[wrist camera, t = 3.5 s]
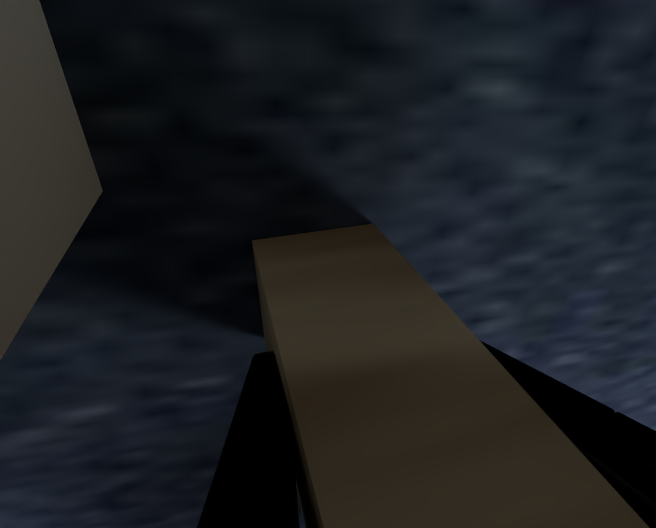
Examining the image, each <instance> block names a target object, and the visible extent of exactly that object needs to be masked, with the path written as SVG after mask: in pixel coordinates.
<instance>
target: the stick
mask: <svg viewBox="0 0 656 528" xmlns="http://www.w3.org/2000/svg"><path fill="white" fill-rule="evenodd" d="M252 246H253V253H254V261H255V269H256V276H257V284H258V291H259V299H260V307H261V314H262V322H263V329H264V337H265V342H266V347H267V351H274V353H275V357H276V361H277V364H278V368H279V372H280V376H281V380H282V384H283V387H284V391H285V395H286V399H287V403H288V408H289V416H290V426H291V436H292V446H293V456H294V466H295V476H296V488H297V493H298V497H299V502H300V507H301V511H302V516H303V521H304V525H305V528H649V527H648V525H647V524H646V523H645V522H644V521H643V520H642V519H641V518H640V517H639V516H638V514H637V513H636V512H635V511H634V510H633V509H632V508H631V507H630V506H629V505H628V503H627V502H626V501H625V500H624V499H623V498H622V497H621V496H620V495H619V494H618V492H617V491H616V490H615V489H614V488H613V487H612V486H611V485H610V484H609V483H608V481H607V480H606V479H605V478H604V477H603V476H602V475H601V474H600V473H599V472H598V470H597V469H596V468H595V467H594V466H593V465H592V464H591V463H590V462H589V461H588V459H587V458H586V457H585V456H584V455H583V454H582V453H581V452H580V451H579V450H578V448H577V447H576V446H575V445H574V444H573V443H572V442H571V441H570V440H569V439H568V437H567V436H566V435H565V434H564V433H563V432H562V431H561V430H560V429H559V428H558V426H557V425H556V424H555V423H554V422H553V421H552V420H551V419H550V418H549V417H548V415H547V414H546V413H545V412H544V411H543V410H542V409H541V408H540V407H539V406H538V404H537V403H536V402H535V401H534V400H533V399H532V398H531V397H530V396H529V395H528V393H527V392H526V391H525V390H524V389H523V388H522V387H521V386H520V385H519V384H518V382H517V381H516V380H515V379H514V378H513V377H512V376H511V375H510V374H509V373H508V371H507V370H506V369H505V368H504V367H503V366H502V365H501V364H500V363H499V361H498V360H497V359H496V358H495V357H494V356H493V355H492V354H491V353H490V352H489V350H488V349H487V348H486V347H485V346H484V345H483V344H482V343H481V342H480V341H479V339H478V338H477V337H476V336H475V335H474V334H473V333H472V332H471V331H470V330H469V328H468V327H467V326H466V325H465V324H464V323H463V322H462V321H461V320H460V319H459V317H458V316H457V315H456V314H455V313H454V312H453V311H452V310H451V309H450V308H449V306H448V305H447V304H446V303H445V302H444V301H443V300H442V299H441V298H440V297H439V295H438V294H437V293H436V292H435V291H434V290H433V289H432V288H431V287H430V286H429V284H428V283H427V282H426V281H425V280H424V279H423V278H422V277H421V276H420V275H419V273H418V272H417V271H416V270H415V269H414V268H413V267H412V266H411V265H410V264H409V262H408V261H407V260H406V259H405V258H404V257H403V256H402V255H401V254H400V253H399V251H398V250H397V249H396V248H395V247H394V246H393V245H392V244H391V243H390V242H389V240H388V239H387V238H386V237H385V236H384V235H383V234H382V233H381V232H380V231H379V229H378V228H377V227H376V226H375V225H374V224H366V225H359V226H352V227H345V228H337V229H330V230H323V231H316V232H309V233H302V234H294V235H287V236H280V237H273V238H266V239H258V240H252Z"/></svg>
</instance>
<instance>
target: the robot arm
mask: <svg viewBox="0 0 656 528" xmlns="http://www.w3.org/2000/svg"><path fill="white" fill-rule="evenodd" d="M479 341H480V340H479ZM480 342H481V343H482V344H483V345H484V346H485V347H486V348H487V349H488V350H489V352H490V353H491V354H492V355H493V356H494V357H495V358H496V359H497V360H498V361H499V363H500V364H501V365H502V366H503V367H504V368H505V369H506V370H507V371H508V373H509V374H510V375H511V376H512V377H513V378H514V379H515V380H516V381H517V382H518V384H519V385H520V386H521V387H522V388H523V389H524V390H525V391H526V392H527V393H528V395H529V396H530V397H531V398H532V399H533V400H534V401H535V402H536V403H537V404H538V406H539V407H540V408H541V409H542V410H543V411H544V412H545V413H546V414H547V415H548V417H549V418H550V419H551V420H552V421H553V422H554V423H555V424H556V425H557V426H558V428H559V429H560V430H561V431H562V432H563V433H564V434H565V435H566V436H567V437H568V439H569V440H570V441H571V442H572V443H573V444H574V445H575V446H576V447H577V448H578V450H579V451H580V452H581V453H582V454H583V455H584V456H585V457H586V458H587V459H588V461H589V462H590V463H591V464H592V465H593V466H594V467H595V468H596V469H597V470H598V472H599V473H600V474H601V475H602V476H603V477H604V478H605V479H606V480H607V481H608V483H609V484H610V485H611V486H612V487H613V488H614V489H615V490H616V491H617V492H618V494H619V495H620V496H621V497H622V498H623V499H624V500H625V501H626V502H627V503H628V505H629V506H630V507H631V508H632V509H633V510H634V511H635V512H636V513H637V514H638V516H639V517H640V518H641V519H642V520H643V521H644V522H645V523H646V524H647V525H648V527H649V528H656V431H655V430H653V429H651V428H649V427H647V426H645V425H643V424H641V423H639V422H637V421H635V420H633V419H631V418H629V417H627V416H625V415H623V414H621V413H619V412H616V413H615V411H614V410H613V409H611V408H610V407H608V406H606V405H604V404H602V403H600V402H598V401H596V400H594V399H592V398H590V397H588V396H586V395H584V394H582V393H581V392H579V391H577V390H575V389H573V388H571V387H569V386H567V385H565V384H563V383H561V382H559V381H557V380H555V379H554V378H552V377H550V376H548V375H546V374H544V373H542V372H540V371H538V370H536V369H534V368H532V367H530V366H528V365H526V364H525V363H523V362H521V361H519V360H517V359H515V358H513V357H511V356H509V355H507V354H505V353H503V352H501V351H499V350H497V349H496V348H494V347H492V346H490V345H488V344H486V343H484V342H482V341H480ZM197 528H300V527H299V514H298V501H297V488H296V476H295V466H294V456H293V446H292V436H291V426H290V416H289V408H288V403H287V399H286V395H285V391H284V387H283V384H282V380H281V376H280V372H279V368H278V364H277V361H276V357H275V353H274V351H268V352H263V353H258V354H255V355H254V356H253V358H252V361H251V364H250V367H249V370H248V373H247V376H246V380H245V383H244V386H243V389H242V392H241V395H240V398H239V401H238V404H237V407H236V410H235V413H234V416H233V419H232V422H231V425H230V428H229V431H228V434H227V437H226V441H225V444H224V447H223V450H222V453H221V456H220V459H219V462H218V465H217V468H216V471H215V474H214V477H213V480H212V483H211V486H210V489H209V492H208V495H207V498H206V502H205V505H204V508H203V511H202V514H201V517H200V520H199V523H198V526H197Z"/></svg>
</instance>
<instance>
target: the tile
mask: <svg viewBox="0 0 656 528" xmlns="http://www.w3.org/2000/svg"><path fill="white" fill-rule="evenodd" d="M102 192H103V190H102V187H101V184H100V181H99V178H98V175H97V172H96V169H95V166H94V163H93V160H92V157H91V154H90V151H89V148H88V145H87V142H86V139H85V136H84V133H83V130H82V127H81V124H80V121H79V118H78V115H77V112H76V109H75V106H74V103H73V100H72V97H71V94H70V91H69V88H68V85H67V82H66V79H65V76H64V73H63V70H62V67H61V64H60V61H59V58H58V55H57V52H56V49H55V46H54V43H53V40H52V37H51V34H50V31H49V28H48V25H47V22H46V19H45V16H44V13H43V10H42V7H41V4H40V1H39V0H0V360H1V358H2V357H3V355H4V353H5V352H6V350H7V348H8V347H9V345H10V343H11V342H12V340H13V338H14V337H15V335H16V333H17V332H18V330H19V329H20V327H21V325H22V324H23V322H24V320H25V319H26V317H27V315H28V314H29V312H30V310H31V309H32V307H33V305H34V304H35V302H36V300H37V299H38V297H39V296H40V294H41V292H42V291H43V289H44V287H45V286H46V284H47V282H48V281H49V279H50V277H51V276H52V274H53V272H54V271H55V269H56V267H57V266H58V264H59V262H60V261H61V259H62V258H63V256H64V254H65V253H66V251H67V249H68V248H69V246H70V244H71V243H72V241H73V239H74V238H75V236H76V234H77V233H78V231H79V229H80V228H81V226H82V225H83V223H84V221H85V220H86V218H87V216H88V215H89V213H90V211H91V210H92V208H93V206H94V205H95V203H96V201H97V200H98V198H99V196H100V195H101V193H102Z"/></svg>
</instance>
